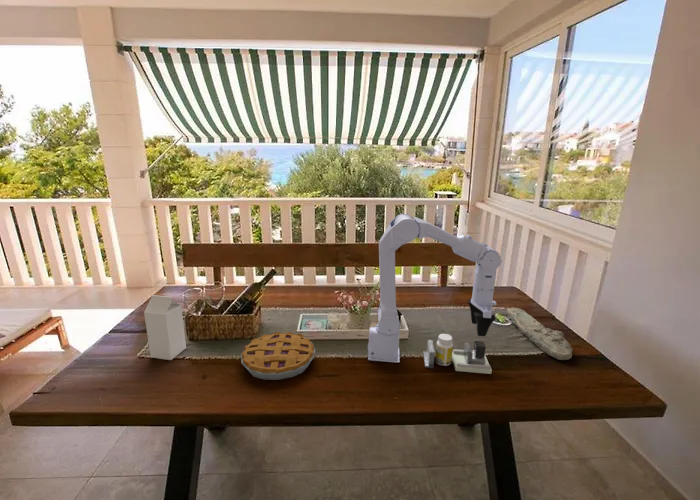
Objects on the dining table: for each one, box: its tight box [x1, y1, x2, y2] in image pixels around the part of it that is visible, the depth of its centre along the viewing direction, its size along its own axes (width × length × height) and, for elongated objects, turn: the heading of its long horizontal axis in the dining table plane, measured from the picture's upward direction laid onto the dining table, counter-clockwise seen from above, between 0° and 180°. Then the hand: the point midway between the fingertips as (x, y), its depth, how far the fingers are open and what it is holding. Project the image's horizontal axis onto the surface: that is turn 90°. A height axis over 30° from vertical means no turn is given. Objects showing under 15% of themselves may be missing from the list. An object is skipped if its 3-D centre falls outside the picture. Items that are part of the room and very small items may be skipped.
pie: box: [240, 331, 316, 381], centre depth 105 cm, size 22×22×5 cm
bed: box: [452, 348, 493, 375], centre depth 106 cm, size 10×9×2 cm
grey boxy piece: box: [463, 340, 487, 365], centre depth 105 cm, size 5×6×6 cm
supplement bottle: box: [434, 333, 454, 367], centre depth 106 cm, size 5×5×8 cm
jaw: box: [422, 339, 436, 369], centre depth 107 cm, size 2×8×5 cm, turn 173°
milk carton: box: [143, 294, 187, 361], centre depth 107 cm, size 7×7×19 cm
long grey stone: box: [505, 307, 573, 361], centre depth 124 cm, size 35×5×10 cm
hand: (478, 329), depth 106 cm, fingers open, 7 cm apart
